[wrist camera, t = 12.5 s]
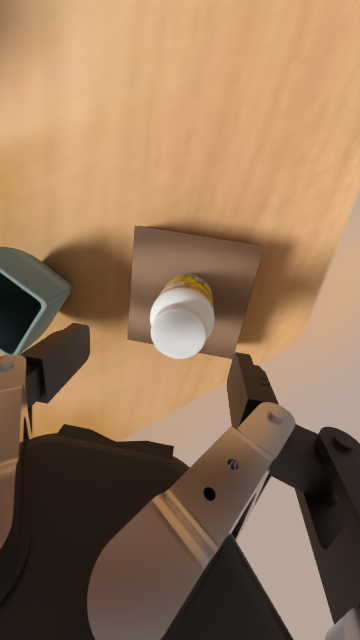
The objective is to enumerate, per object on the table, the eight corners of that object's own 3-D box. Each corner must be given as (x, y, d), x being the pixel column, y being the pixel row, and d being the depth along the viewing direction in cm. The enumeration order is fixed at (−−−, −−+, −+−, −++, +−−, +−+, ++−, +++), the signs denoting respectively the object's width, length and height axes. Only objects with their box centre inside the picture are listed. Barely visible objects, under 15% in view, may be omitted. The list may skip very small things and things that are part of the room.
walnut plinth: (145, 226, 26) (134, 225, 22) (255, 244, 25) (264, 246, 22) (136, 326, 31) (127, 339, 27) (229, 343, 30) (232, 359, 27)
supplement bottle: (155, 285, 24) (126, 315, 16) (200, 264, 23) (197, 284, 14) (176, 326, 26) (161, 375, 17) (220, 309, 25) (227, 353, 16)
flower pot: (92, 284, 30) (47, 304, 21) (62, 328, 33) (12, 361, 24) (35, 238, 28) (-37, 241, 20) (9, 289, 31) (-63, 310, 23)
